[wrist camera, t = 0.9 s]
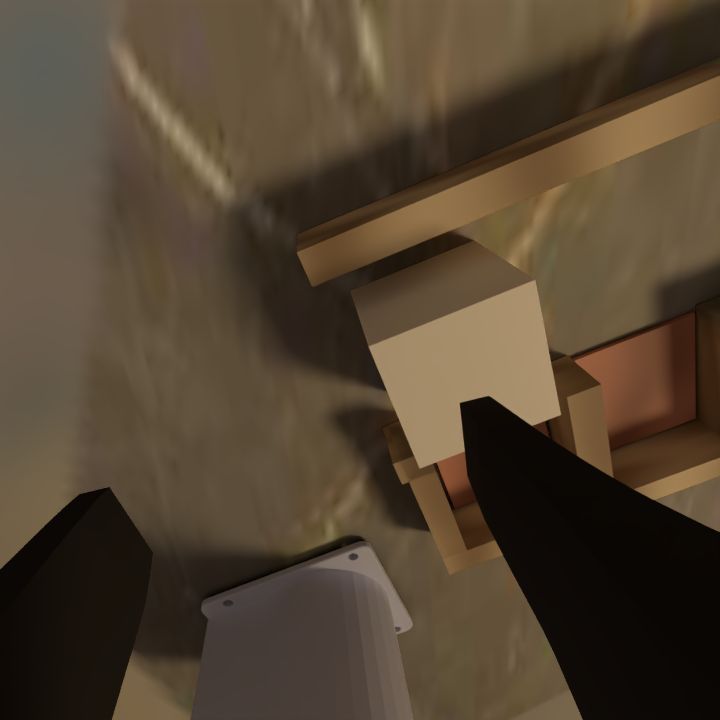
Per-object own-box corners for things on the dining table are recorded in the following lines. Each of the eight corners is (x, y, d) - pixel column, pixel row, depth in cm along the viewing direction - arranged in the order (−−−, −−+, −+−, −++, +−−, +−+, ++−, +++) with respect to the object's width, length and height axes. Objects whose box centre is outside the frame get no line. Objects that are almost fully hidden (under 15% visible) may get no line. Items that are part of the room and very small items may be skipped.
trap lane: (430, 535, 24) (447, 585, 21) (296, 234, 16) (296, 256, 13) (826, 387, 23) (896, 422, 20) (894, -17, 15) (1025, -48, 12)
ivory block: (391, 391, 20) (419, 468, 15) (349, 290, 17) (368, 346, 13) (500, 349, 19) (561, 414, 15) (472, 239, 17) (534, 279, 13)
